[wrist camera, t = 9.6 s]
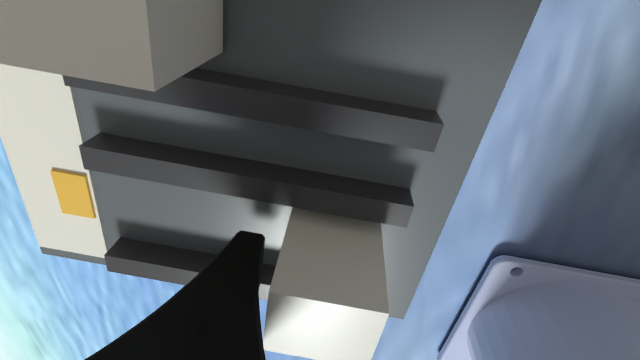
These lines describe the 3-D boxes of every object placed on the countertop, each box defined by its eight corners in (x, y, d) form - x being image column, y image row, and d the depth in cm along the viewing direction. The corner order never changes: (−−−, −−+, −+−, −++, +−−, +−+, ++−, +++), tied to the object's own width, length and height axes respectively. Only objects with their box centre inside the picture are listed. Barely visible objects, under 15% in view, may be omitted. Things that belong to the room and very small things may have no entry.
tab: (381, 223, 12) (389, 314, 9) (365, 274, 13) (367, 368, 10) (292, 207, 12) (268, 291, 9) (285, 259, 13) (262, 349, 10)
